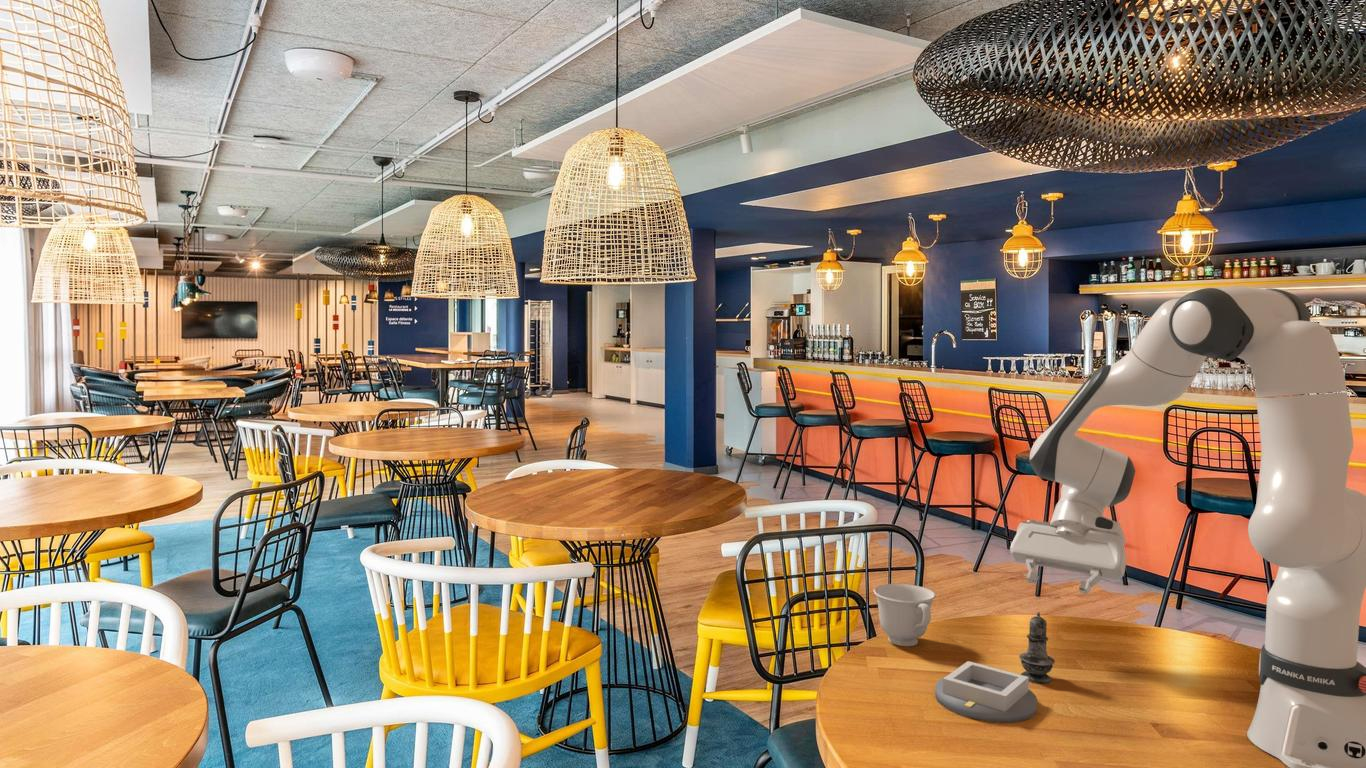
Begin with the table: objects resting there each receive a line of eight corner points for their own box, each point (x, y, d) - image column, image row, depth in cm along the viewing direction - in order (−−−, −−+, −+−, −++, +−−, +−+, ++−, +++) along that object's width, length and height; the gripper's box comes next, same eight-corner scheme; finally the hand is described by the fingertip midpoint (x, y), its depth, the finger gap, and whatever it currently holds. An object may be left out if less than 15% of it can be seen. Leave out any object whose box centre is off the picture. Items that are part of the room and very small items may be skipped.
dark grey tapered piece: (1047, 672, 155) (1050, 607, 155) (1058, 685, 150) (1061, 618, 149) (1014, 670, 156) (1016, 606, 155) (1024, 683, 150) (1026, 616, 149)
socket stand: (1050, 699, 143) (1051, 676, 143) (1016, 732, 131) (1017, 707, 131) (958, 674, 154) (959, 652, 154) (919, 702, 142) (919, 678, 142)
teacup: (898, 660, 160) (900, 608, 160) (861, 633, 175) (862, 585, 174) (955, 654, 163) (956, 603, 163) (914, 629, 178) (915, 581, 177)
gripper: (1017, 509, 171) (997, 567, 164) (1129, 525, 158) (1112, 588, 151) (1024, 527, 175) (1005, 584, 168) (1134, 544, 161) (1118, 607, 155)
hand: (1057, 586), depth 159 cm, fingers open, 8 cm apart
